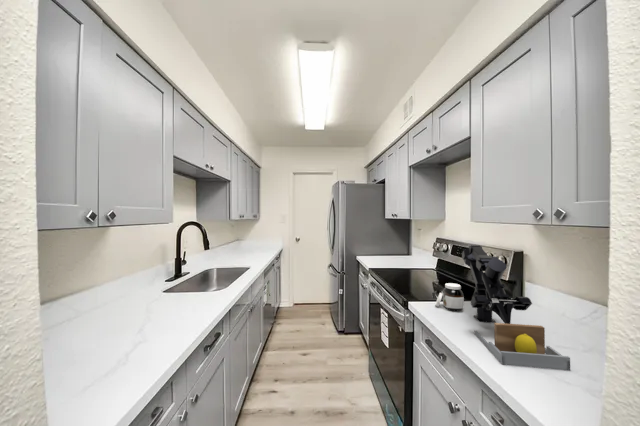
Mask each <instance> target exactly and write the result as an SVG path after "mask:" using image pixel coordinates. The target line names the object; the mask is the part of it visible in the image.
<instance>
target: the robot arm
mask: <svg viewBox="0 0 640 426" xmlns="http://www.w3.org/2000/svg"><path fill="white" fill-rule="evenodd" d="M461 259H462V260H463V262H464V264H465V265H467V267H468V268H469V269H470V272H471V275H472V278H473V281H474V284H475V288H474V292H473V294H472V296H471V300H470V305H471V308H473V309H476V315H475V314H473V317H474V318H475V319H476V321H478V322H479V323H493V324H494V323H497V321H496V320H494V319H493V312H494V313H495V314H496V315H498V317H499V318H500V320H501V321H502V322H503V323H505V324H511V321H512V319H511V318H512V311H513V309H514V310H516V311H526V310H528V308H530V307H531V305H533V303H532V301H531V299H530V298H529V297H528V296H516V297H515V298H514V299H509V297H510V296H509V294H507V293H506V291H505V289H504V288H505V284H504V283H502V281H501V279H502V278H503V275H504V274H505V271H506V269H507V264H506V263H505V262H504V261H503V260H501V259H499V256H490V255H488V254H487V253H486V251H485V250H484V249H483V246H482V245H479V244H476V245H475V244H474V245H473V244H471V245H469V247H467V248H464V249H463V251H462V253H461Z"/></svg>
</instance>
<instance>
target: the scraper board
mask: <svg viewBox="0 0 640 426" xmlns="http://www.w3.org/2000/svg"><path fill="white" fill-rule="evenodd" d="M493 326H494V327H493V328H494V335H493V336H494V337H493V338H494V345H495V346H496V347H497V348H498V349H499V350H500V351H507V352H517V351H516V349H515V340H516V337H517V336H519V335H522V334H527V335H528V336H530V337H531V338H532V339H533V340H534V341H535V343H536V347H537V353H536V354H546V353H545V348H546V339H545V338H546V337H545V336H546V335H545V331H546V330H545V329H546V328H545V327H544V326H543V325H537V324H535V325H534V324H521V323H520V324H519V323H510V324H505V323H504V322H503V323H502V322H496V323H493Z"/></svg>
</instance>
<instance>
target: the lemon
mask: <svg viewBox="0 0 640 426" xmlns="http://www.w3.org/2000/svg"><path fill="white" fill-rule="evenodd" d="M515 349H516V351H517V352H520V353H533V354H536V353H537V347H536V343H535V341H534V340H533V339H532V338H531V337H530V336H528V335H527V334H522V335H519V336H517V337H516V340H515Z"/></svg>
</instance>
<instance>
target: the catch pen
mask: <svg viewBox="0 0 640 426" xmlns="http://www.w3.org/2000/svg"><path fill="white" fill-rule="evenodd" d="M473 333H474V335H475V337H476V338H477V339H478V340H479V341H480V342H481V344H483V346H484V347H486V348H487V350H488V351H489V352H490V353H491V354H492V356H494V358H495V359H496V360H497V361H498V362H499V363H500V364H501V365H502V366H512V367H513V366H514V367H525V368H536V369H537V368H538V369H548V370H559V371H560V370H561V371H571V357H570V356H569V355H563V354H561V353H560V352H558V351H557V350H555V349H554V347H551V346H550V345H545V354H533V353H520V352H507V351H500V350H499V349H498V348H497V347H496V346H495V343H493V341H487V340H485V338H484V337H483V336H482V335H481V334H480V332H478V331H477V330H474V332H473Z"/></svg>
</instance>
